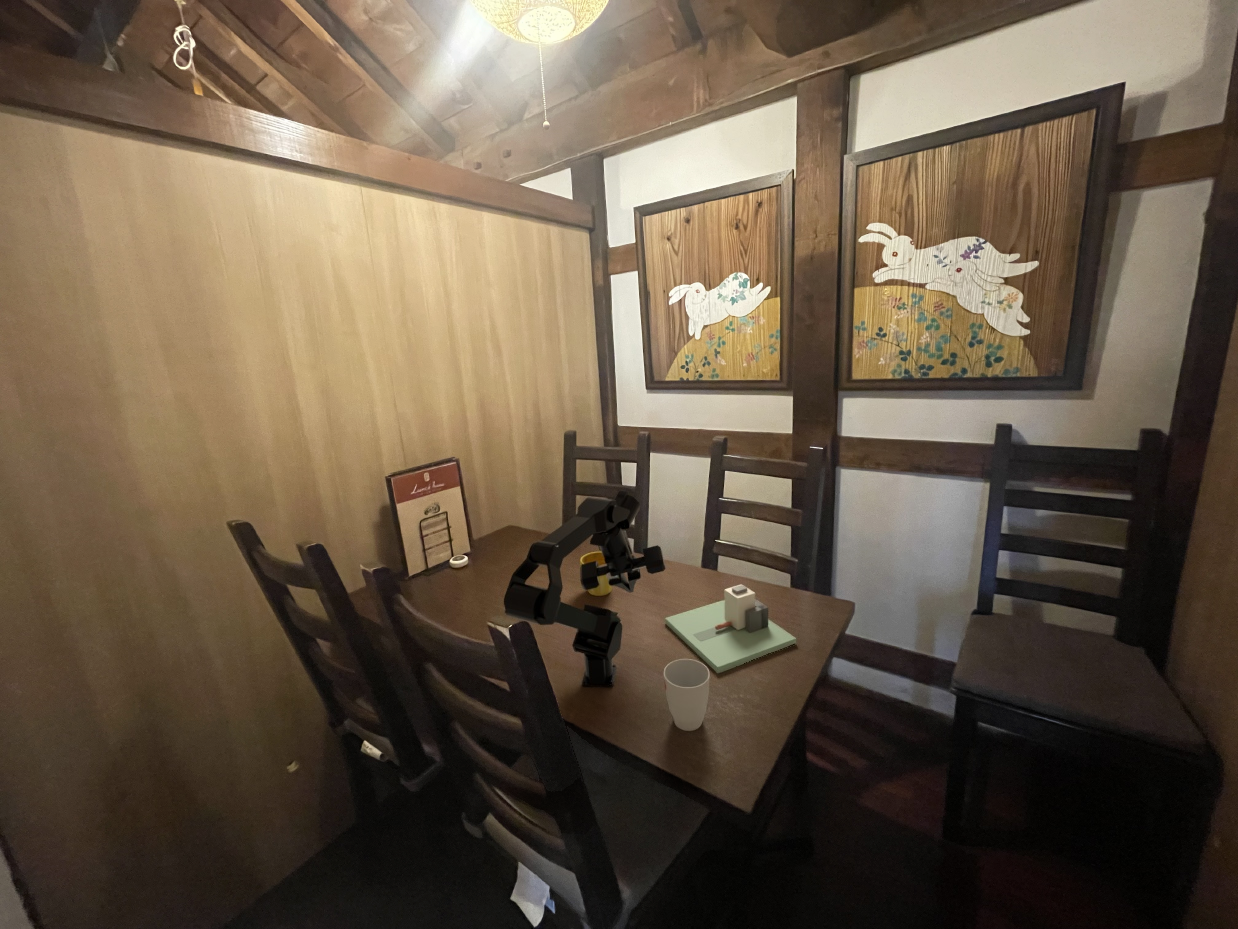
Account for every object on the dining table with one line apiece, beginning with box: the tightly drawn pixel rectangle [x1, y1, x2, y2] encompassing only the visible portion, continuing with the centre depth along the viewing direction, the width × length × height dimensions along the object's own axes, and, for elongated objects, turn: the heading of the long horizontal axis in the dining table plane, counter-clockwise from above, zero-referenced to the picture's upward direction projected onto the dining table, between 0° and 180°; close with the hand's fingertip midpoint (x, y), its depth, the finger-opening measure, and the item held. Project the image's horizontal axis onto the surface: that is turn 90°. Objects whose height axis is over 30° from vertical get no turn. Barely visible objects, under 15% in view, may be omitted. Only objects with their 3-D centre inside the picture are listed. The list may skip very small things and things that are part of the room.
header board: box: [664, 599, 797, 674], centre depth 117 cm, size 21×22×2 cm
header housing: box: [746, 598, 769, 633], centre depth 118 cm, size 5×9×5 cm, turn 24°
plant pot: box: [579, 551, 613, 597], centre depth 141 cm, size 10×10×10 cm
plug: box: [715, 584, 756, 630], centre depth 116 cm, size 9×5×9 cm, turn 114°
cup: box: [663, 658, 710, 732], centre depth 90 cm, size 8×8×10 cm
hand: (631, 590), depth 115 cm, fingers closed
